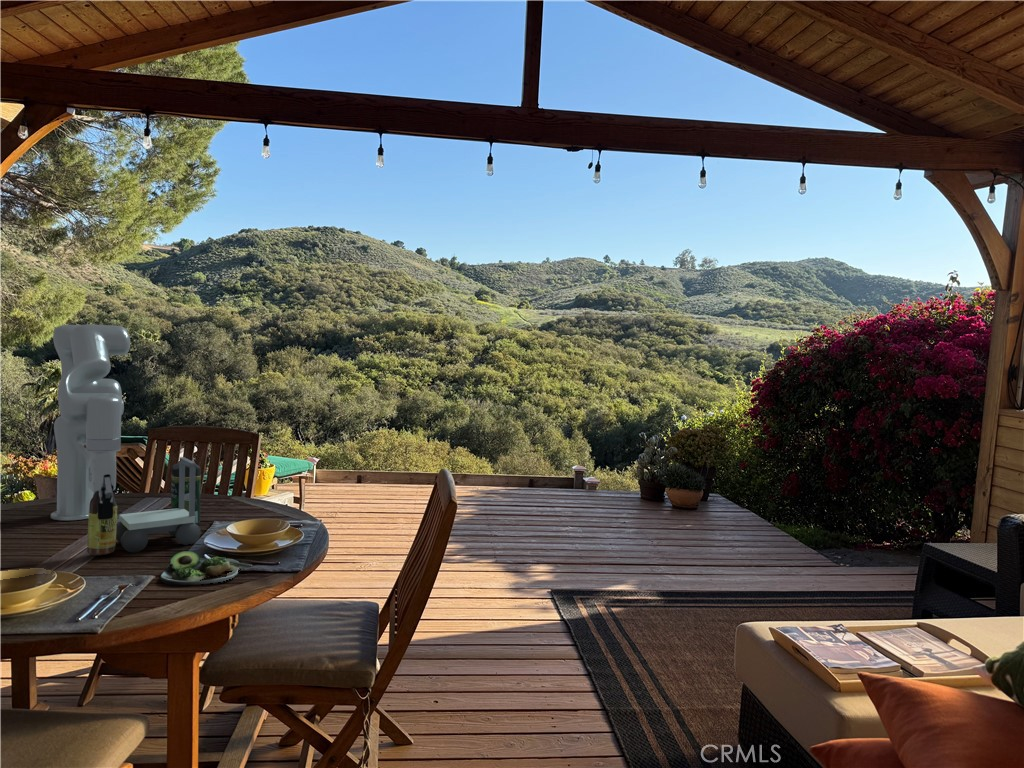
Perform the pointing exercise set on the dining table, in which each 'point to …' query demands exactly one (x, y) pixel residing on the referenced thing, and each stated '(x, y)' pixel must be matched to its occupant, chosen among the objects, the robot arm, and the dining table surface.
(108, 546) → the sauce bottle
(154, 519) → the trolley
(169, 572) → the salad plate
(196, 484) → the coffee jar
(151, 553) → the dining table surface
